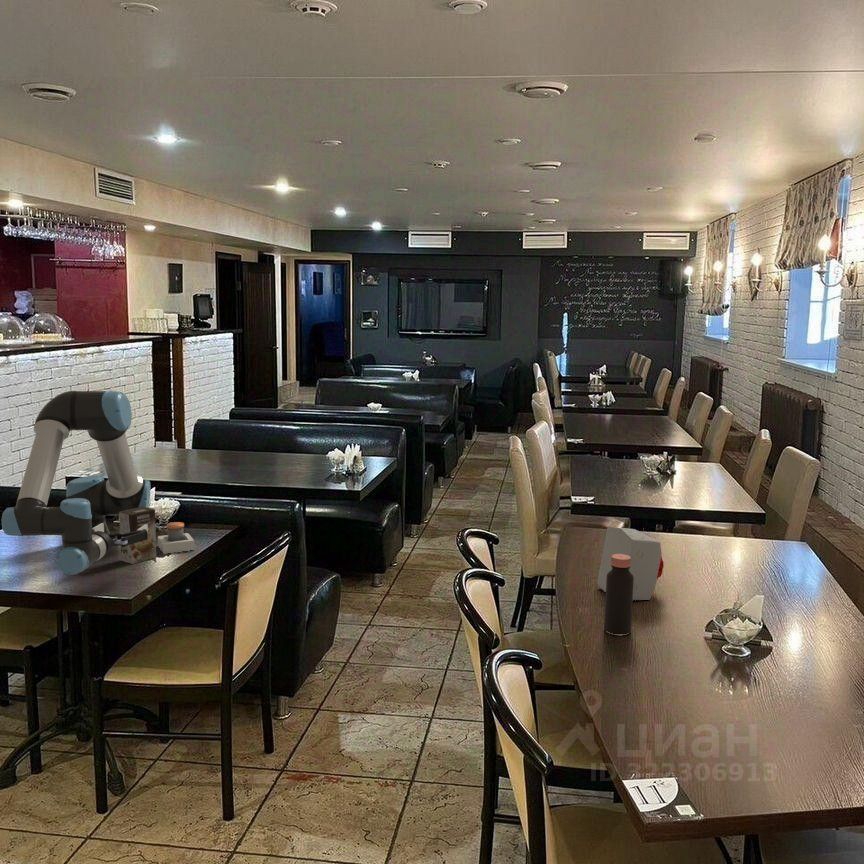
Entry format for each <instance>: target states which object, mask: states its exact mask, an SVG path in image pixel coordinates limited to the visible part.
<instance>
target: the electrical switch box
mask: <svg viewBox="0 0 864 864" xmlns="http://www.w3.org/2000/svg"><path fill="white" fill-rule="evenodd" d="M601 554H602V555H601V560H600V565H599V571H598V577H597V582H596V583H597V585H598V586H599V587H600V589H601V590H602V591H603V592H604V593H605V592H606V578H607V574H608V572H610V571H611V570H612V567H611V556H612V555H614V554H625V555H628V556H630V557H631V566H630V568H629V571H630V572H631V574H632V575H633V577H634V583H633V601H634V600H635V601H636V600H649V601H650V600H651V598H652V596H653V594H654V592H655V590H656V586H657V585H656V584H657V580H659V578H661V577H662V575H663V570H664V560H663V555H662V545H661V542H660V541H659V540H656V539H655V538H653V537H650V536H649V535H647V534H645V533H643V532H641V531H639V530H637V529H635V528H628V527H618V526H617V527H616V526H607V527H606V532H605V538H604V543H603V549H602V553H601ZM635 601H634V602H635ZM636 602H637V601H636Z"/></svg>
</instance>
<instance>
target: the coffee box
mask: <svg viewBox="0 0 864 864" xmlns="http://www.w3.org/2000/svg"><path fill="white" fill-rule="evenodd" d="M118 516H119V517H118V518H119V533H120V534H124V533H129V532H134V531H137V529H139V528H140V527H142V526H143V525H145V524H148V540H144V541H142V542H138V543H134V544H131V545H128V546H126V547H122V546H121V545H119V546H120V547H119V548H120V554H119V555H120V561H122V562H125V563H128V564H131V565H133V564H138V563H142V562H146V561H149V560H153V559H156V558H157V541H156V536H157V535H156V509H154V508H150V507H148V508H145V507H140V508H135V509H130V510H125V511H120V512H119V515H118ZM155 557H156V558H155ZM152 558H153V559H152ZM148 559H149V560H148ZM145 560H146V561H145ZM141 561H142V562H141Z"/></svg>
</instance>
